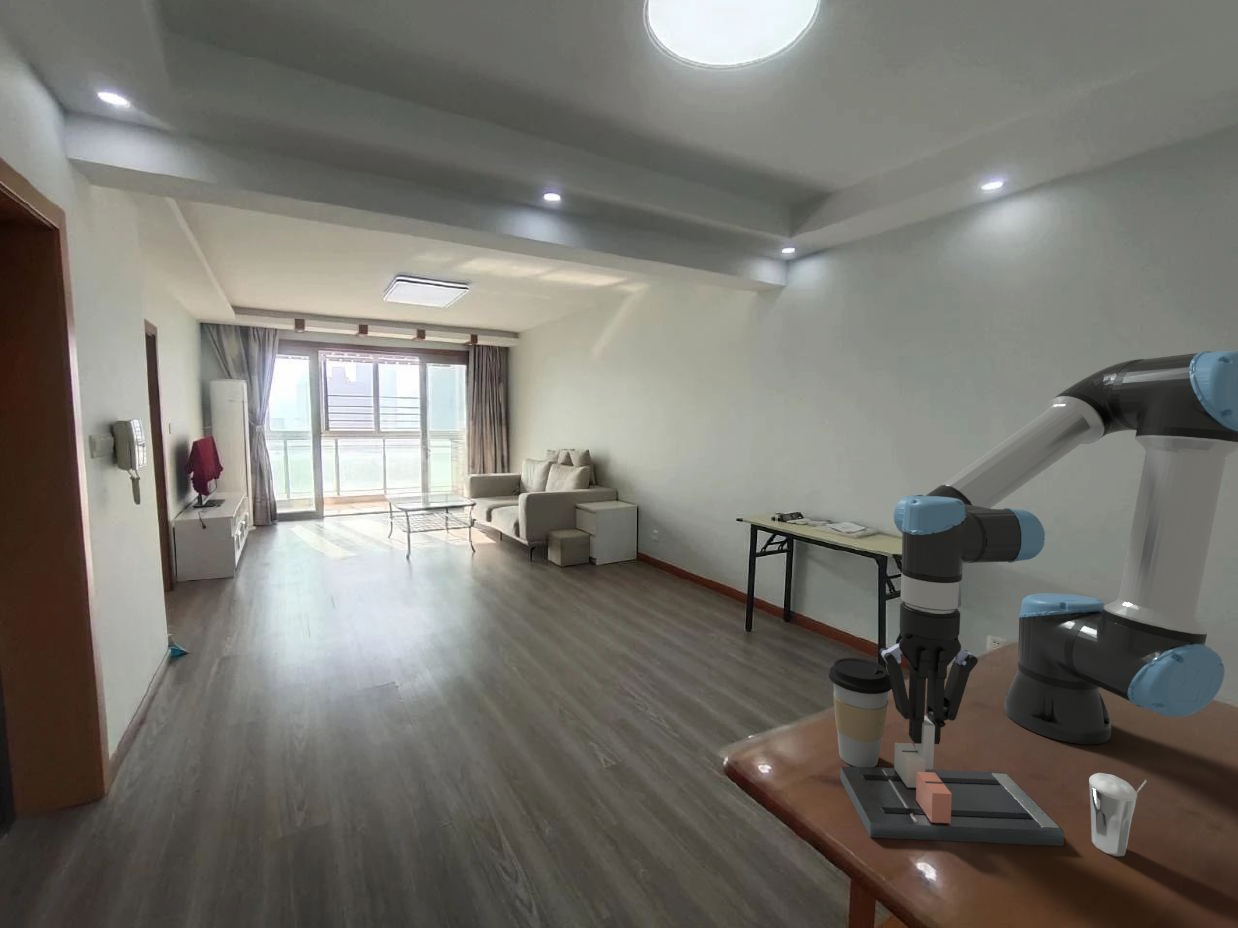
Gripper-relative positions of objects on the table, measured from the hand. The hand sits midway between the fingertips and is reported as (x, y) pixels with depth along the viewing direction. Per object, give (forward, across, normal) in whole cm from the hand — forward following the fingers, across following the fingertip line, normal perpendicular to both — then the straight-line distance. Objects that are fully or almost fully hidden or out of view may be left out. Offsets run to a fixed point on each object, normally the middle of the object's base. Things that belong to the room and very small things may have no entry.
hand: (923, 763), depth 81 cm
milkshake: (+5, -19, +10) cm, 22 cm away
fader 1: (+2, +2, 0) cm, 3 cm away
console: (+5, -1, +3) cm, 6 cm away
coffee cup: (+5, +6, -8) cm, 11 cm away
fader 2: (+2, +2, +7) cm, 8 cm away
